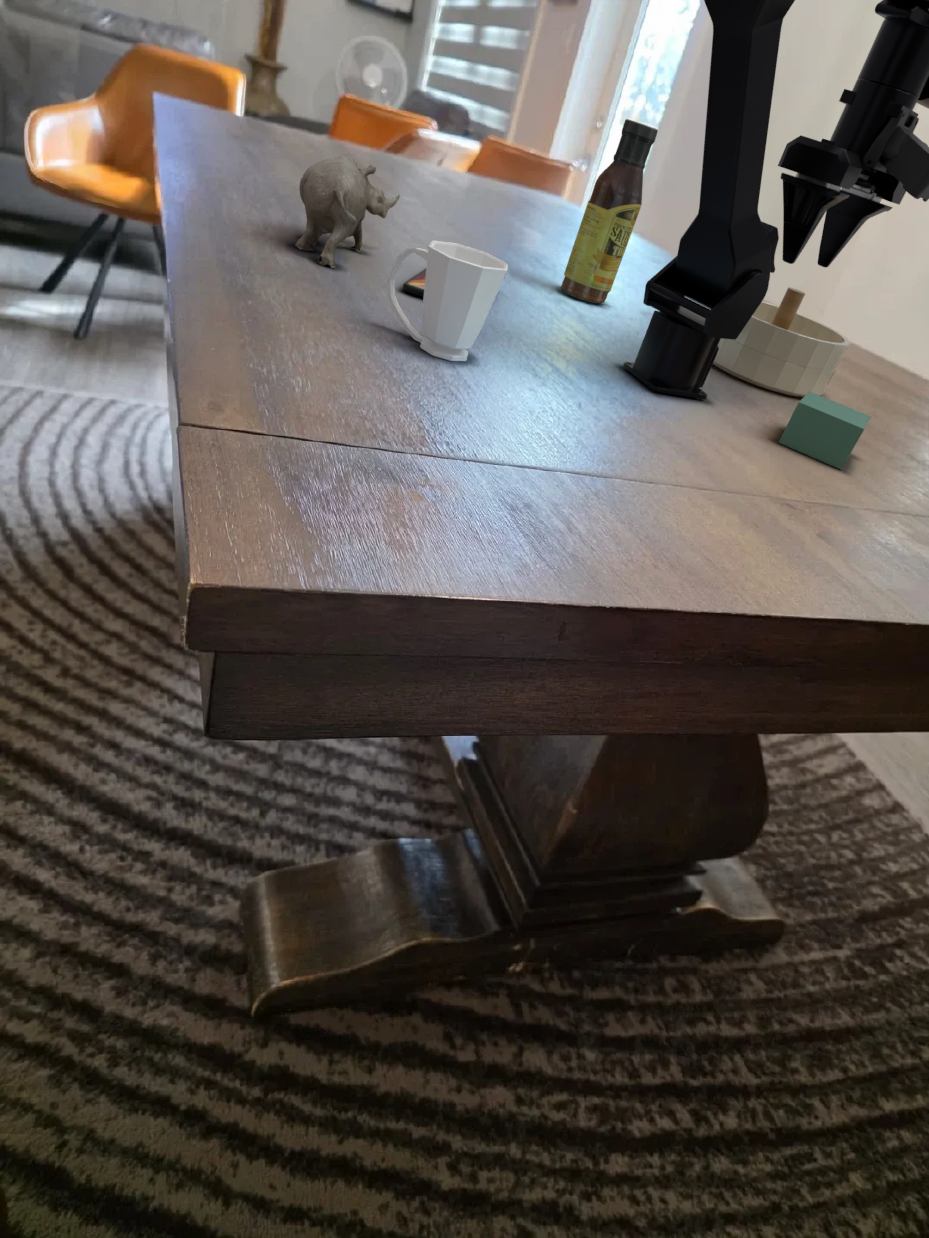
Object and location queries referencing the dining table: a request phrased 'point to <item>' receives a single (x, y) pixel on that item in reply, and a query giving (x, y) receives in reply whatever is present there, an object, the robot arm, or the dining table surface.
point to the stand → (824, 429)
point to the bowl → (783, 353)
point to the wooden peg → (788, 308)
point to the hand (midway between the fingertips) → (805, 264)
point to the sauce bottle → (609, 217)
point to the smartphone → (416, 284)
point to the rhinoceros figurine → (338, 203)
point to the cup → (451, 296)
